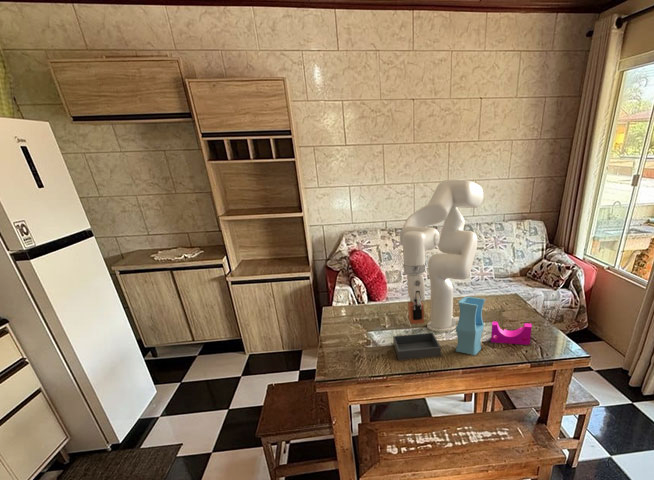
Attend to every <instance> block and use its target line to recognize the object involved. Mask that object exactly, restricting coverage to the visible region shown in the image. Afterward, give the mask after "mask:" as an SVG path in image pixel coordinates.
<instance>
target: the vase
mask: <svg viewBox="0 0 654 480" xmlns="http://www.w3.org/2000/svg"><path fill="white" fill-rule="evenodd" d="M485 301H486V298H481V297H474V296H464V297H462V298H461V299H460V300H458V307H459V316H458V317H459V322H457V323H456V328H455V333H456V336H457V344H456V348H455V352H459V353H463V354H468V355H472V356H476V355H477V354H478V353H479V352H480V351H481V350H482V343H481V342H482V341H481V340H482V339H481V338H482V334H483V330H484V328H485V324H484V320H483V315H482V314H483V308H484V305H485Z"/></svg>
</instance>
